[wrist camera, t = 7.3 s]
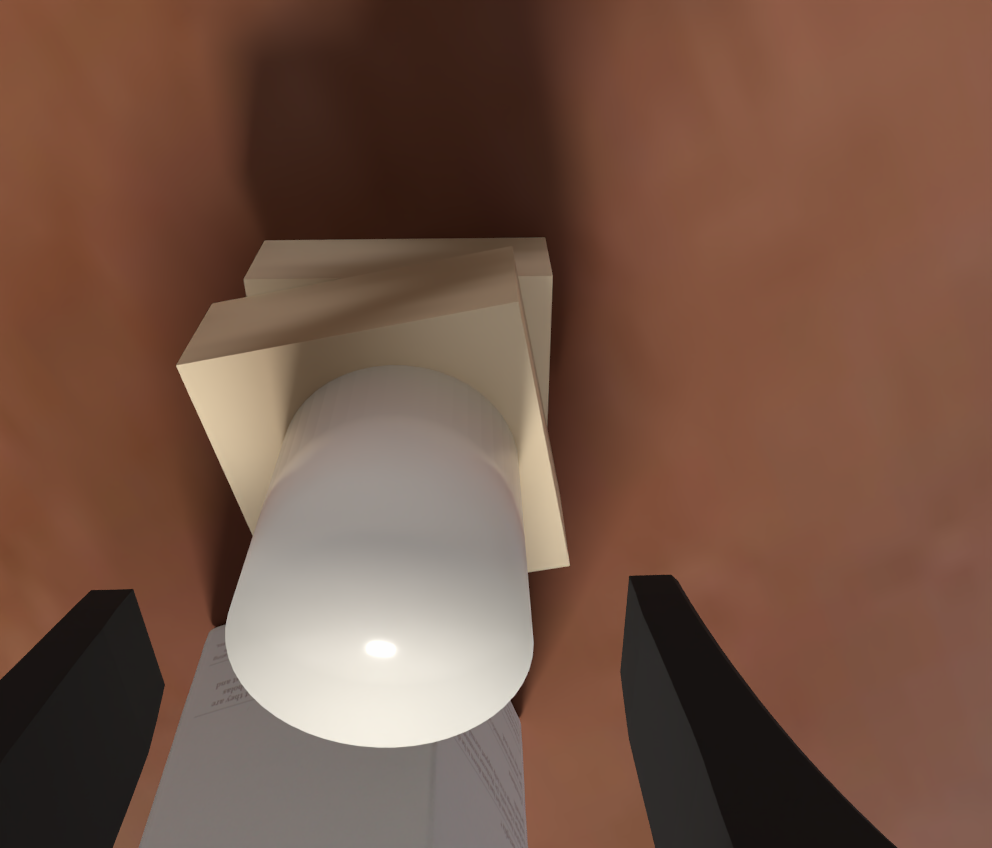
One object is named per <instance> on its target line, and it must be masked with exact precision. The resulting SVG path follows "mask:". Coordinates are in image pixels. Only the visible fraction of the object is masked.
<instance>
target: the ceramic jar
mask: <svg viewBox="0 0 992 848" xmlns="http://www.w3.org/2000/svg"><path fill="white" fill-rule="evenodd" d="M225 644H226V649H227V654H228V658H229V660H230V663H231V666H232V668H233V671H234V672H235V674H236V676H237V677H238V679H239V681H240V683H241V684H242V685H243V687H244V688H245V689H246V690H247V691H248V693H249V694H250V695H251V696H252V697H253V698H254V699H255V700H256V701H257V702H258V703H259V704H260V705H261V706H262V707H264V708H265V709H266V710H268V711H269V712H270V713H272V714H273V715H274V716H276V717H277V718H279V719H281V720H282V721H284V722H286V723H287V724H289V725H291V726H293V727H295V728H297V729H300V730H302V731H304V732H306V733H309V734H312V735H315V736H317V737H320V738H323V739H327V740H331V741H335V742H339V743H343V744H349V745H356V746H364V747H377V748H396V747H407V746H416V745H422V744H428V743H433V742H436V741H440V740H444V739H448V738H450V737H453V736H456V735H458V734H461V733H464V732H466V731H468V730H470V729H472V728H474V727H476V726H478V725H480V724H481V723H483V722H485V721H486V720H488V719H489V718H491V717H492V716H494V715H495V714H496V713H497V712H498V711H500V710H501V709H502V708H503V707H504V706H505V705H506V704H507V703H508V702H509V701H510V700H511V699H512V698H513V697H514V696H515V694H516V693H517V691H518V690H519V688H520V687H521V686H522V684H523V682H524V680H525V678H526V676H527V674H528V671H529V669H530V665H531V661H532V657H533V645H534V641H533V629H532V617H531V606H530V594H529V582H528V570H527V558H526V546H525V534H524V522H523V510H522V498H521V486H520V474H519V462H518V453H517V448H516V444H515V440H514V437H513V435H512V433H511V430H510V428H509V426H508V424H507V423H506V421H505V420H504V418H503V416H502V415H501V413H500V412H499V411H498V410H497V409H496V408H495V406H494V405H493V404H492V403H491V402H490V401H489V400H488V399H486V398H485V397H484V396H483V395H482V394H481V393H480V392H478V391H477V390H475V389H474V388H472V387H471V386H469V385H468V384H466V383H464V382H462V381H460V380H458V379H456V378H454V377H452V376H449V375H447V374H444V373H441V372H439V371H435V370H431V369H427V368H422V367H415V366H407V365H385V366H375V367H369V368H365V369H360V370H356V371H353V372H351V373H348V374H345V375H342V376H340V377H338V378H336V379H334V380H332V381H330V382H328V383H327V384H325V385H324V386H322V387H321V388H319V389H318V390H317V391H315V392H314V393H313V394H312V395H311V396H310V397H309V398H308V399H307V400H305V402H304V403H303V404H302V405H301V407H300V408H299V409H298V410H297V412H296V413H295V415H294V417H293V419H292V420H291V422H290V424H289V427H288V429H287V432H286V435H285V438H284V441H283V444H282V447H281V450H280V453H279V456H278V459H277V462H276V466H275V469H274V472H273V475H272V478H271V481H270V484H269V487H268V490H267V494H266V497H265V500H264V503H263V506H262V509H261V512H260V515H259V518H258V522H257V525H256V528H255V531H254V534H253V537H252V540H251V543H250V546H249V550H248V553H247V556H246V559H245V562H244V565H243V568H242V571H241V575H240V578H239V581H238V584H237V587H236V590H235V593H234V596H233V599H232V603H231V606H230V609H229V612H228V616H227V621H226V627H225Z"/></svg>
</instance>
